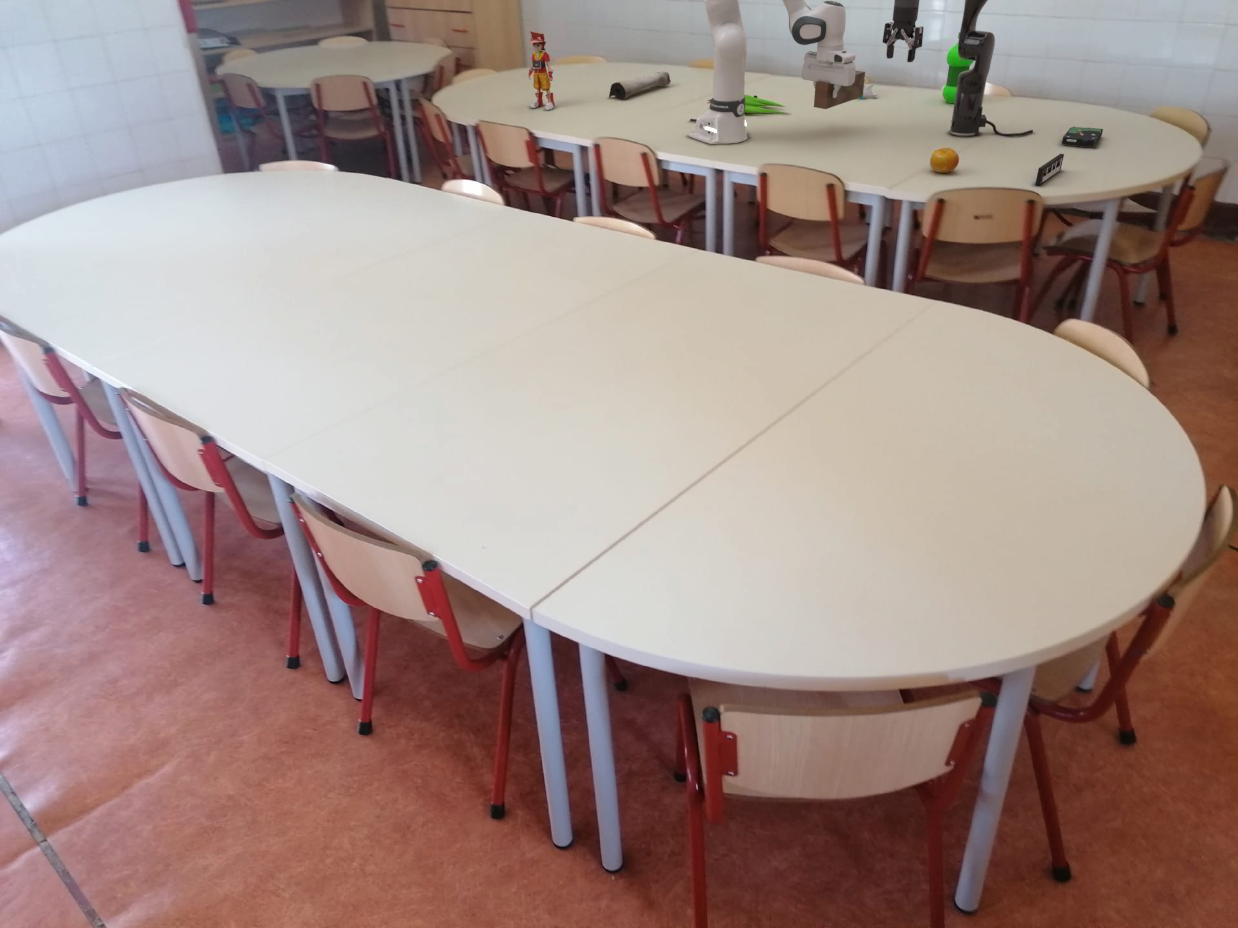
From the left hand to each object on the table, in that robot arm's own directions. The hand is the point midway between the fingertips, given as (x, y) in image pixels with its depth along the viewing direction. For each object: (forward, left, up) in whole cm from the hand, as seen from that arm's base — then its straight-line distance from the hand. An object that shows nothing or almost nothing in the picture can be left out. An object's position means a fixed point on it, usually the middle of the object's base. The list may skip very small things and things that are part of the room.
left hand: (826, 96), depth 316 cm
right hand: (+28, 0, +15) cm, 32 cm away
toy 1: (-122, -33, -14) cm, 127 cm away
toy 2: (-45, +15, -14) cm, 50 cm away
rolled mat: (-107, +11, -14) cm, 109 cm away
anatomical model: (-26, +60, -14) cm, 66 cm away
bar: (0, +8, -3) cm, 9 cm away
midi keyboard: (+82, +4, -14) cm, 83 cm away
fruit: (+54, -10, -14) cm, 57 cm away
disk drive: (+72, +47, -14) cm, 87 cm away
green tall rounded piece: (+11, +71, -14) cm, 73 cm away
